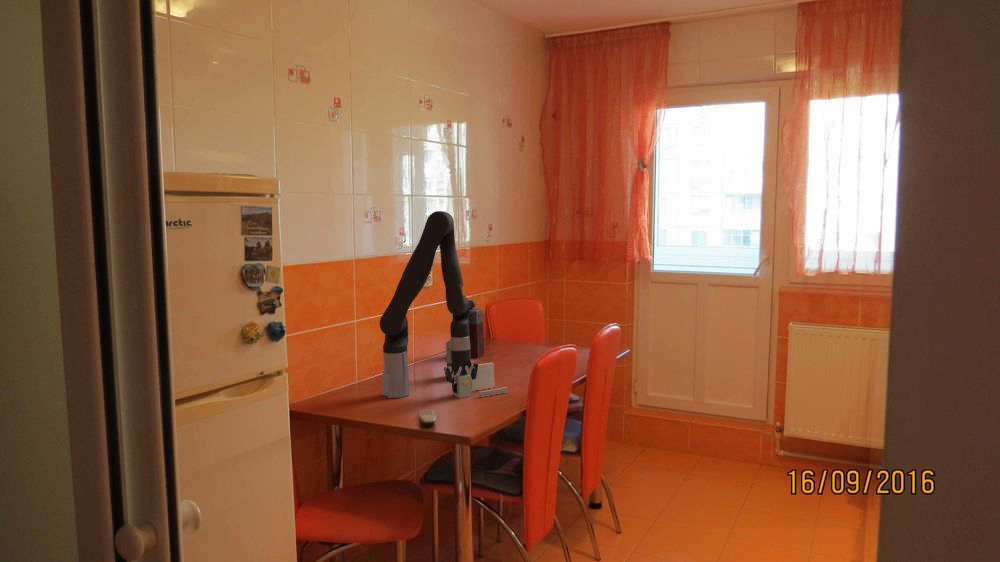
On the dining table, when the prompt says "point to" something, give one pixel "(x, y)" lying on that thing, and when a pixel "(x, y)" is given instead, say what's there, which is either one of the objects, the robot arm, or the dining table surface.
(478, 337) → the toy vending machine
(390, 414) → the dining table surface
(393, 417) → the dining table surface
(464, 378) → the cabinet block
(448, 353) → the coffee box
